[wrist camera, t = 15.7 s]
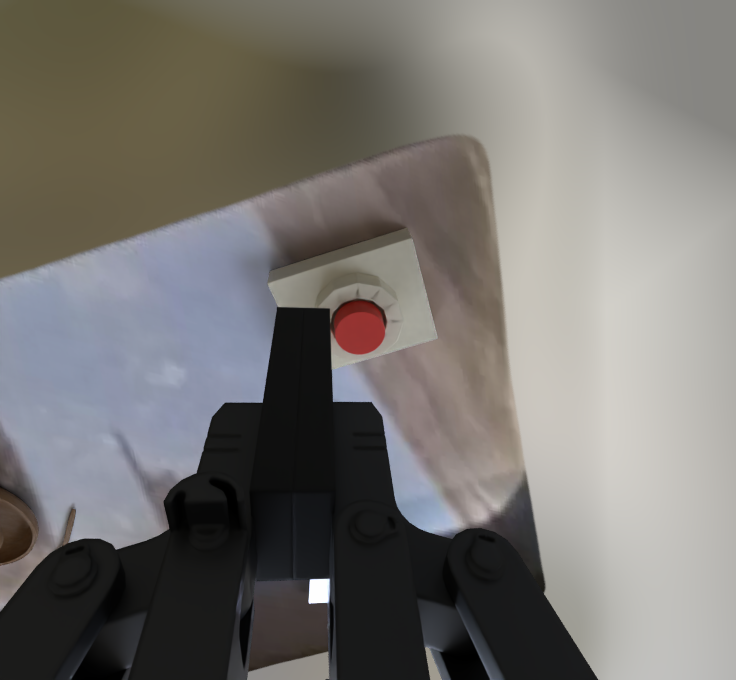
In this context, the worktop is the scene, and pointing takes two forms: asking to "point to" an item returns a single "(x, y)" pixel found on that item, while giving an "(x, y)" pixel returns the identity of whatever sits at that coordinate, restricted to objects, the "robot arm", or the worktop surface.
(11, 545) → the place setting
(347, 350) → the stop button
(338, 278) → the button block
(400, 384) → the worktop surface
